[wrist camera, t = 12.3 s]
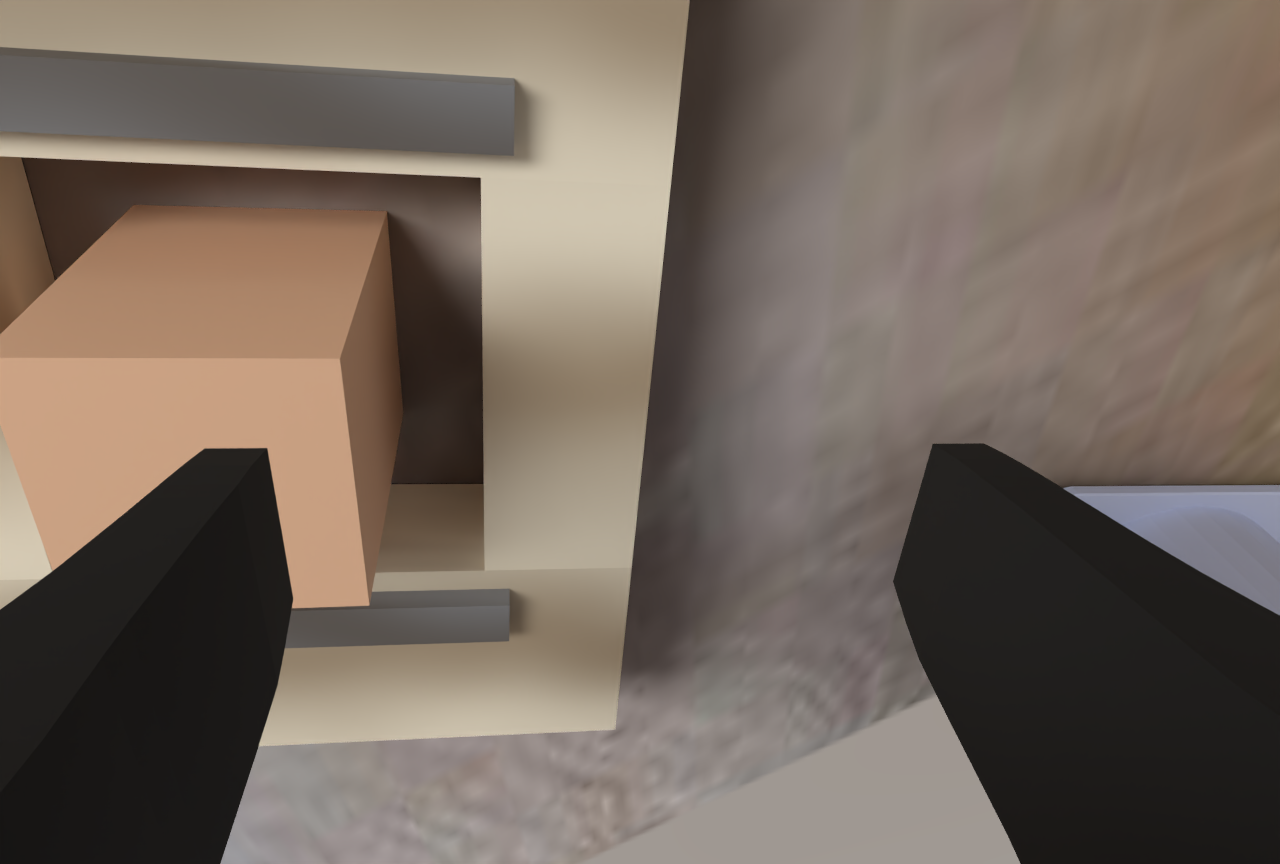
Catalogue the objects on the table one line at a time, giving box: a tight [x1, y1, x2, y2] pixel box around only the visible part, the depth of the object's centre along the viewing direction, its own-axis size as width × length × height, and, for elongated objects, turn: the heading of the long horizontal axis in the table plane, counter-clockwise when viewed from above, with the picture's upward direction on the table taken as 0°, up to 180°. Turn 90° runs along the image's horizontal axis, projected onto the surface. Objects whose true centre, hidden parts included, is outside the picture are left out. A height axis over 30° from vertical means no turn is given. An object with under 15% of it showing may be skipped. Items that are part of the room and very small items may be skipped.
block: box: [0, 205, 403, 608], centre depth 16 cm, size 4×4×6 cm
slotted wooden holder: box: [0, 0, 690, 746], centre depth 17 cm, size 18×14×4 cm
